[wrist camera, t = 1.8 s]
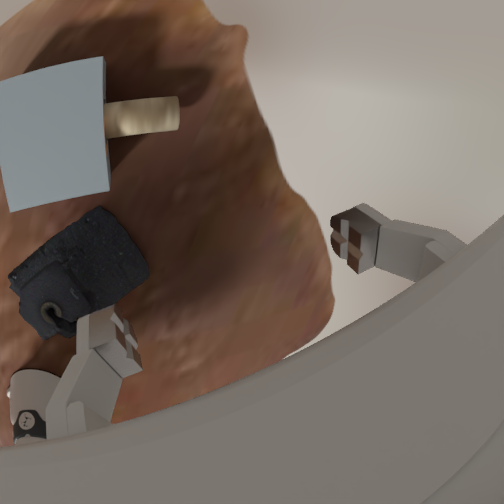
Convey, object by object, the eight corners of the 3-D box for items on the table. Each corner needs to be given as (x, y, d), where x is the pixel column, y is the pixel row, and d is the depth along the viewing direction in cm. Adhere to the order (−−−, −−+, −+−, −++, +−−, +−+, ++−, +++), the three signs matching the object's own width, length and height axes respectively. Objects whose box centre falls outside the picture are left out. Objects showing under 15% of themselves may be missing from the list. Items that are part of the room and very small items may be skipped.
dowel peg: (173, 128, 32) (179, 132, 29) (74, 142, 27) (69, 148, 24) (173, 95, 30) (179, 96, 27) (72, 109, 25) (66, 110, 22)
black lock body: (161, 274, 44) (167, 293, 40) (62, 338, 41) (61, 359, 38) (104, 195, 34) (103, 208, 31) (0, 279, 32) (-8, 298, 28)
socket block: (110, 173, 33) (109, 190, 27) (26, 191, 28) (10, 212, 23) (106, 63, 25) (102, 56, 20) (14, 84, 21) (-7, 84, 16)
